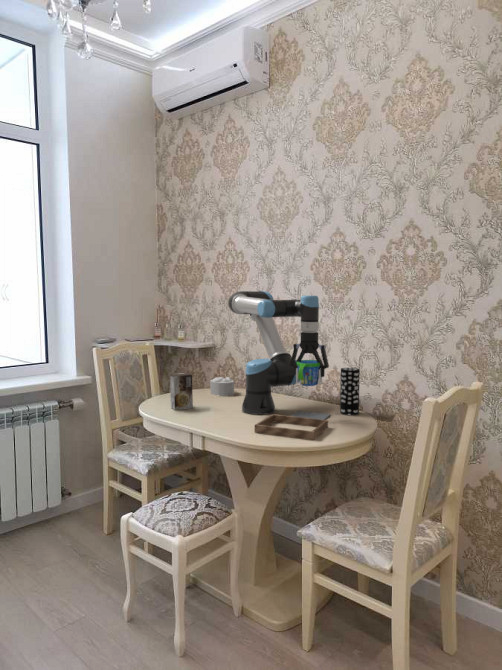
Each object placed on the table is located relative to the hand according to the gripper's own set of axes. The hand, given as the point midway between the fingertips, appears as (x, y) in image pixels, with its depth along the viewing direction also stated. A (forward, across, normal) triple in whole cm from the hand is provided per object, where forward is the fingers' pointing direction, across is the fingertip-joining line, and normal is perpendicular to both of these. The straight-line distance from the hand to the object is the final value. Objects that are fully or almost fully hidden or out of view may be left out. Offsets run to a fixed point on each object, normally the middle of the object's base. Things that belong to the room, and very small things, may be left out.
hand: (308, 383), depth 223 cm
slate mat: (+15, 0, 0) cm, 15 cm away
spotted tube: (+15, +14, +16) cm, 26 cm away
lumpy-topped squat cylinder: (+15, -57, +30) cm, 66 cm away
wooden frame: (+15, 0, -21) cm, 26 cm away
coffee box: (+15, -60, -7) cm, 62 cm away
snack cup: (+1, 0, 0) cm, 1 cm away
